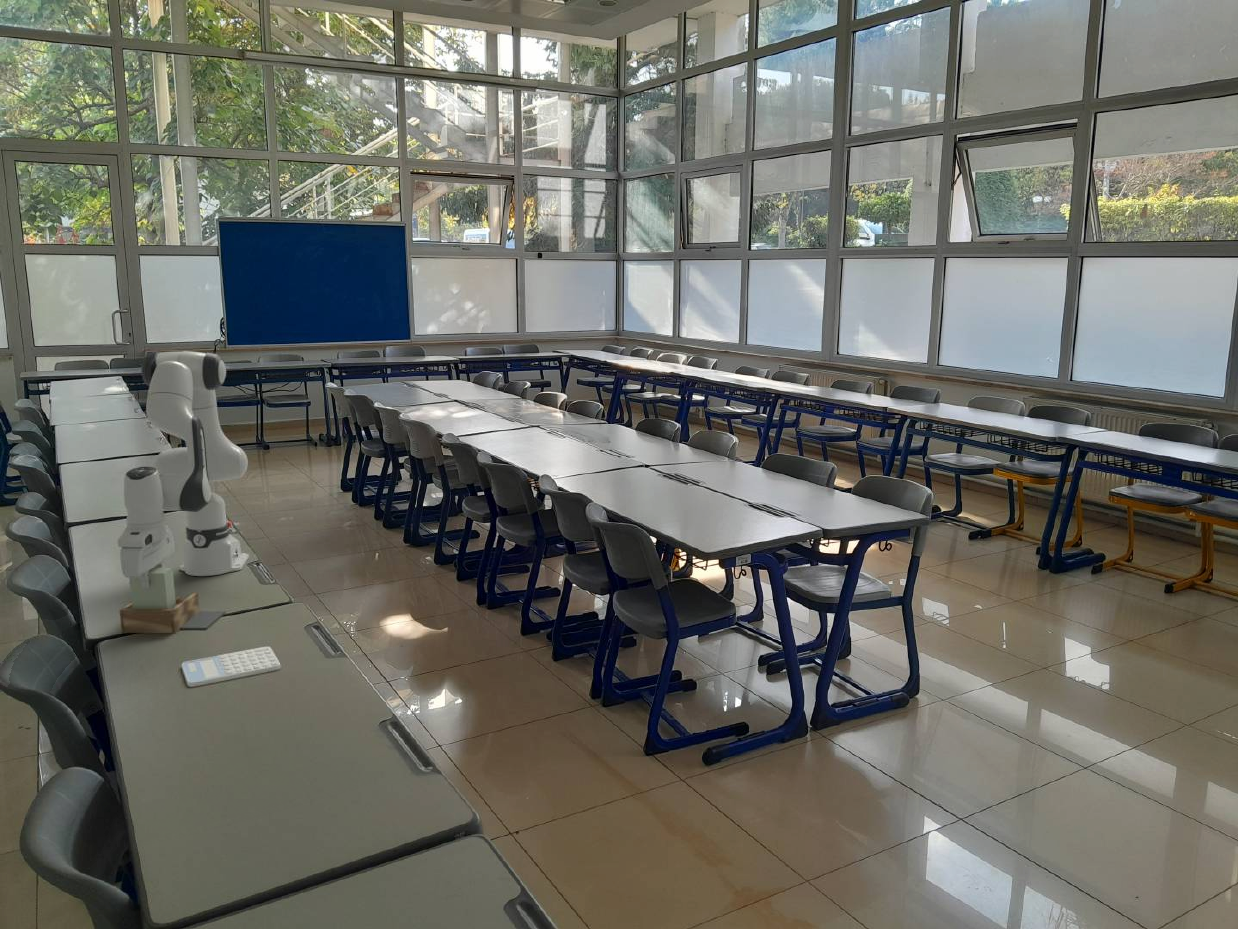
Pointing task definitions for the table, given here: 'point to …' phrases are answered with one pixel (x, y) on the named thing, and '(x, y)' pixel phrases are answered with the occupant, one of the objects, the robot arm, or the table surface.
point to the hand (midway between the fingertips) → (152, 582)
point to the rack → (158, 617)
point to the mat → (203, 620)
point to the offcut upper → (178, 600)
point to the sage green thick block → (154, 590)
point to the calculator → (229, 666)
